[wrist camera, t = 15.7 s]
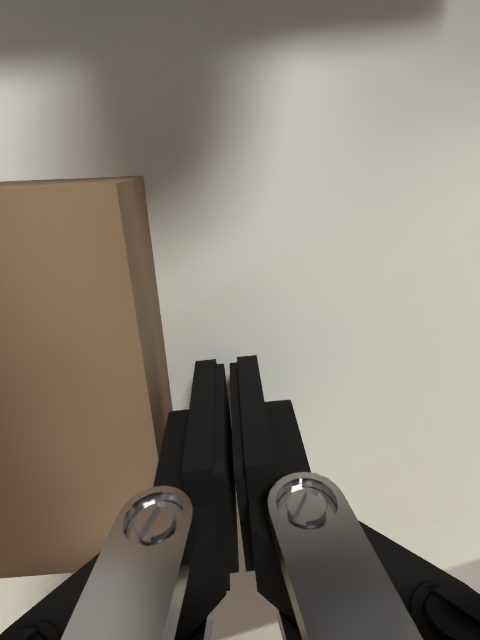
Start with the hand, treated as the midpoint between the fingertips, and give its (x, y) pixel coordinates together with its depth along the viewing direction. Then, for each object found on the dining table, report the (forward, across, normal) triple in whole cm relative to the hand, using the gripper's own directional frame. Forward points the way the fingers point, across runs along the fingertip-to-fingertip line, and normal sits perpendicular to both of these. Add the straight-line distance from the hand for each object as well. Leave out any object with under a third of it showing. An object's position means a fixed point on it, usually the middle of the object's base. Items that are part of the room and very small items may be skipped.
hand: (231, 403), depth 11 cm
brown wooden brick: (+1, +6, -1) cm, 6 cm away
